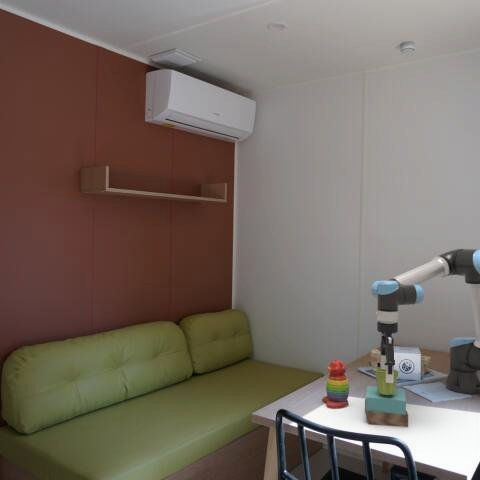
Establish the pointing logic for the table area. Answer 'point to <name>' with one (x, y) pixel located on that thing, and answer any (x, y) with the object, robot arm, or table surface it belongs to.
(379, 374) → the plant pot
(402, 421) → the tower base
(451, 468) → the table surface
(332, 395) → the stacking bear
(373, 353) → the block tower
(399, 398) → the tower top
